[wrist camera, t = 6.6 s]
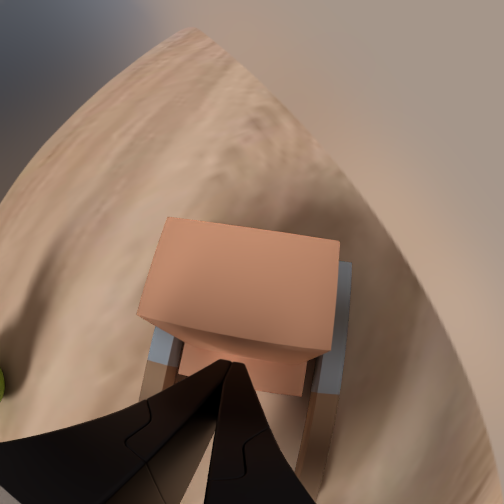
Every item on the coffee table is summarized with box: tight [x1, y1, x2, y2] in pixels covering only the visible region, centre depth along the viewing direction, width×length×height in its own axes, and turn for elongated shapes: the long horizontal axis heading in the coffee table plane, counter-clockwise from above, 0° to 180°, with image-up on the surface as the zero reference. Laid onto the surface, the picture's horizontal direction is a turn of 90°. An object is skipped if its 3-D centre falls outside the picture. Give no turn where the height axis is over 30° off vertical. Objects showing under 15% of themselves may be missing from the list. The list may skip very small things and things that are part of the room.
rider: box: [136, 217, 340, 397], centre depth 12 cm, size 6×6×10 cm
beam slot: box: [139, 261, 352, 503], centre depth 14 cm, size 16×10×2 cm
